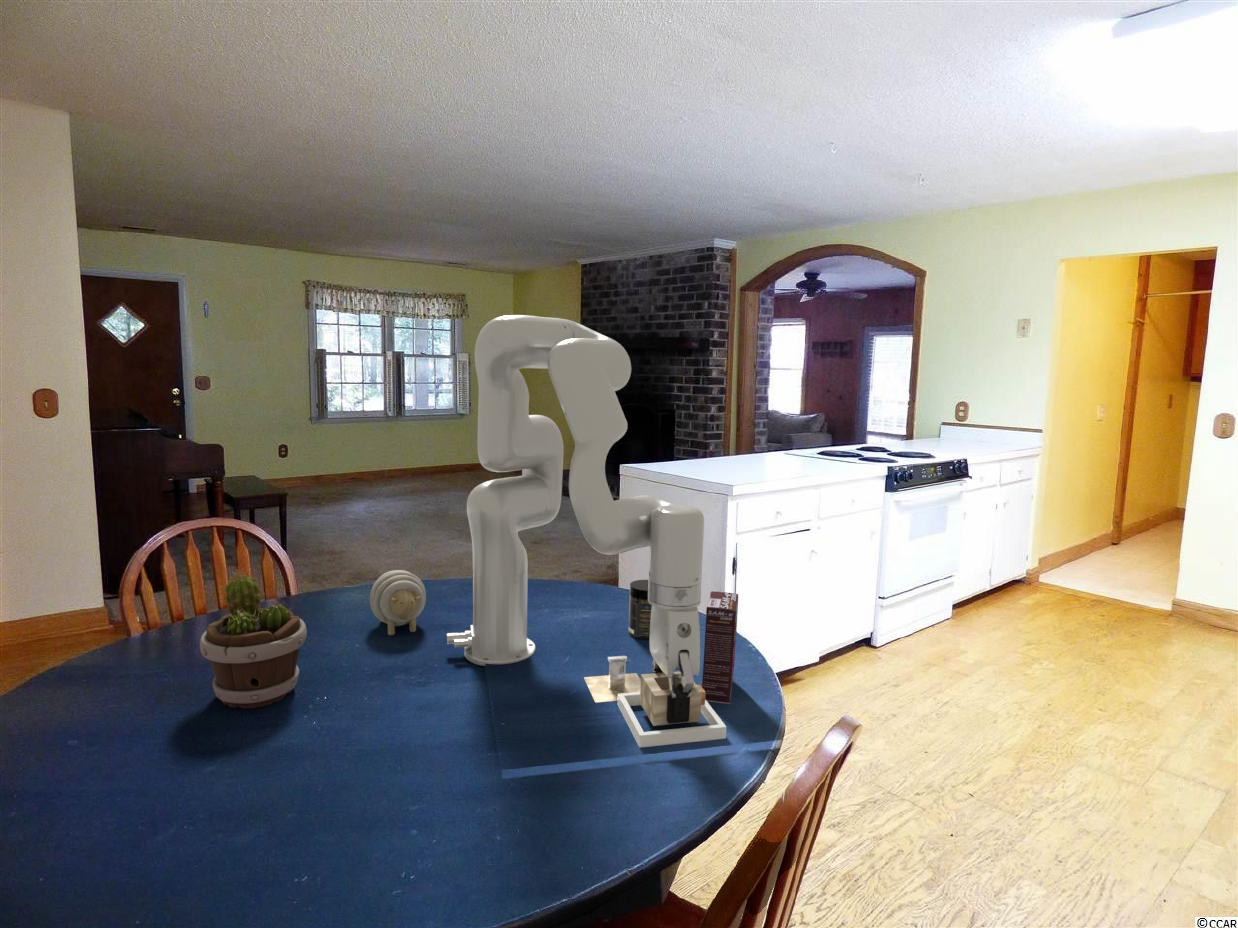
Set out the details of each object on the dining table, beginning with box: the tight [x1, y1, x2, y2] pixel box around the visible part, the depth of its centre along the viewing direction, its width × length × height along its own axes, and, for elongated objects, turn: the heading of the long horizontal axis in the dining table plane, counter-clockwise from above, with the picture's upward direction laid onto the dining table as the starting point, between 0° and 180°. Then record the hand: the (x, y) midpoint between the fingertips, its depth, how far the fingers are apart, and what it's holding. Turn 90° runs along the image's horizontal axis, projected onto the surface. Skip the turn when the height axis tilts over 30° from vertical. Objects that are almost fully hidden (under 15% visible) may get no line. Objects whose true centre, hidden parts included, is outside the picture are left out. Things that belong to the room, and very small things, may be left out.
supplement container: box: [628, 579, 652, 641], centre depth 141 cm, size 7×7×10 cm
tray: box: [616, 692, 727, 749], centre depth 108 cm, size 13×13×2 cm
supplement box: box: [701, 590, 739, 705], centre depth 117 cm, size 9×5×16 cm, turn 168°
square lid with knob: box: [583, 655, 641, 704], centre depth 118 cm, size 9×9×6 cm
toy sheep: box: [369, 569, 427, 636], centre depth 143 cm, size 11×17×11 cm, turn 32°
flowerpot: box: [199, 565, 308, 709], centre depth 112 cm, size 14×15×20 cm
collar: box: [640, 670, 706, 727], centre depth 107 cm, size 7×8×4 cm
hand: (669, 708), depth 107 cm, fingers closed on collar, 6 cm apart
